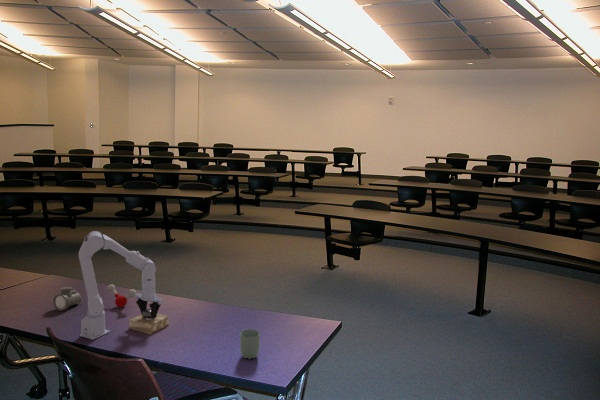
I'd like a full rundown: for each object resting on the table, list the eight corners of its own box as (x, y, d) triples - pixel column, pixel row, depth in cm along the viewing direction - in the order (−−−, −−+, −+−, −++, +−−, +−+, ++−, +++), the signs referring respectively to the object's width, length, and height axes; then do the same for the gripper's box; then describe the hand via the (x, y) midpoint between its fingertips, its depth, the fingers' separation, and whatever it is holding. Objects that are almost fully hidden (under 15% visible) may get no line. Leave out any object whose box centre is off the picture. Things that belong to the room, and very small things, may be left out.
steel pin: (149, 326, 233) (149, 313, 232) (140, 324, 235) (139, 311, 234) (157, 322, 237) (157, 309, 236) (148, 320, 240) (148, 307, 239)
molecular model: (138, 308, 257) (138, 288, 255) (130, 312, 252) (129, 292, 250) (112, 301, 265) (112, 282, 263) (103, 305, 260) (103, 285, 259)
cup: (259, 352, 215) (260, 329, 213) (258, 361, 207) (259, 337, 205) (240, 352, 215) (240, 328, 213) (238, 361, 207) (239, 337, 205)
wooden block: (150, 334, 229) (149, 325, 228) (129, 328, 234) (129, 319, 233) (168, 324, 239) (168, 316, 238) (148, 319, 244) (148, 311, 244)
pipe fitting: (65, 311, 249) (65, 290, 249) (52, 310, 252) (52, 289, 252) (84, 306, 260) (84, 285, 260) (71, 305, 263) (71, 284, 263)
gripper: (167, 287, 234) (167, 316, 236) (142, 281, 240) (143, 310, 242) (156, 292, 228) (156, 322, 230) (131, 286, 234) (131, 315, 236)
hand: (149, 316), depth 236 cm, fingers closed on steel pin, 5 cm apart
